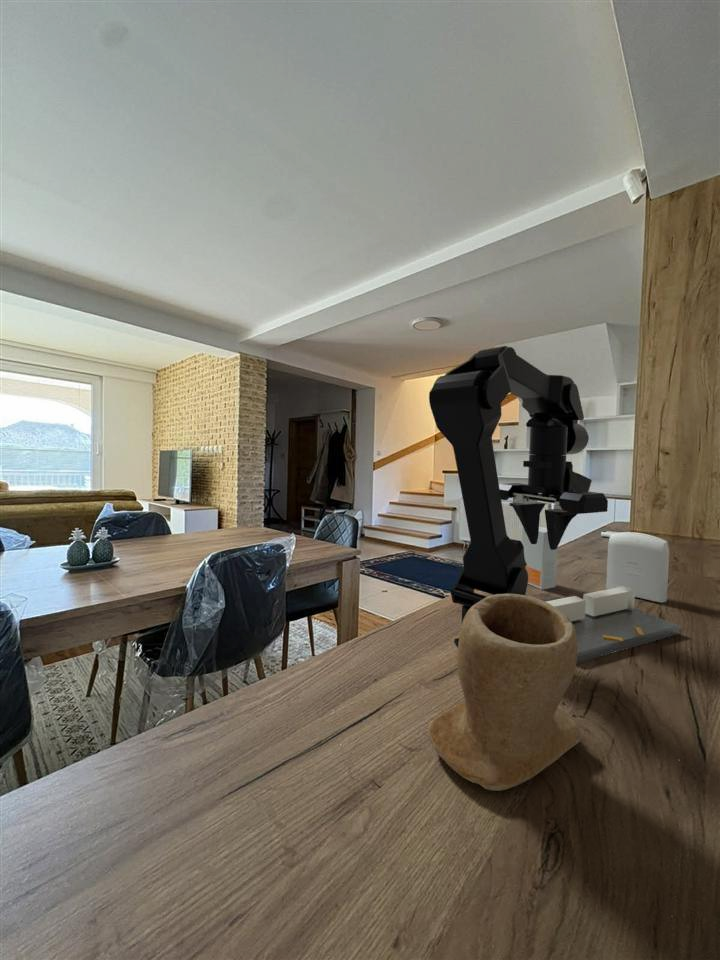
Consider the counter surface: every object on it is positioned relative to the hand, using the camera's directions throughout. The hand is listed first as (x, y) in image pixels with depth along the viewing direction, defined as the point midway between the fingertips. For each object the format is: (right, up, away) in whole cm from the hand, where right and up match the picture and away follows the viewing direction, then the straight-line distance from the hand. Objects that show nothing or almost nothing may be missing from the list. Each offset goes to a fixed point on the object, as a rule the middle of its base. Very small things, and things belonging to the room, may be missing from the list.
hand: (543, 546), depth 71 cm
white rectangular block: (-1, -11, -6) cm, 12 cm away
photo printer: (+23, -12, +11) cm, 28 cm away
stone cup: (-17, -15, -31) cm, 38 cm away
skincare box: (+6, -11, +17) cm, 21 cm away
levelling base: (+5, -13, -5) cm, 14 cm away
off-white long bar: (+11, -10, -1) cm, 15 cm away
